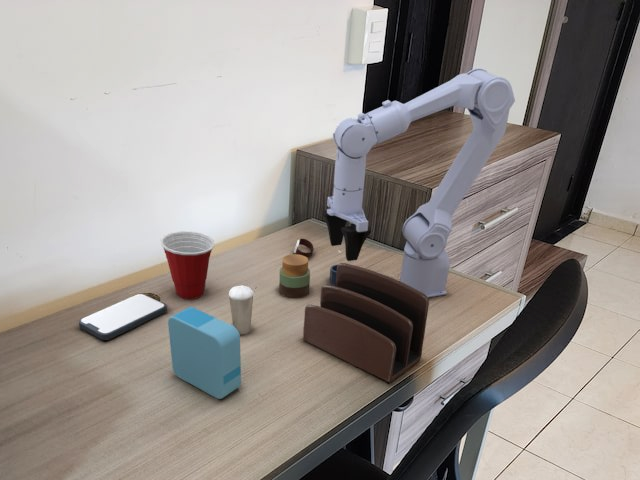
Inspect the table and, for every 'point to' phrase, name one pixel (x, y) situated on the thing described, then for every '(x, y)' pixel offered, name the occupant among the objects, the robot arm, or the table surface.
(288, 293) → the walnut chip
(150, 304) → the smartphone
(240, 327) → the milkshake
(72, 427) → the table surface
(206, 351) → the data package
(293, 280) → the sage chip
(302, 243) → the watch
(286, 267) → the orange short cylinder
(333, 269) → the small cup
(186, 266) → the plastic cup
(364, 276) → the letter holder
